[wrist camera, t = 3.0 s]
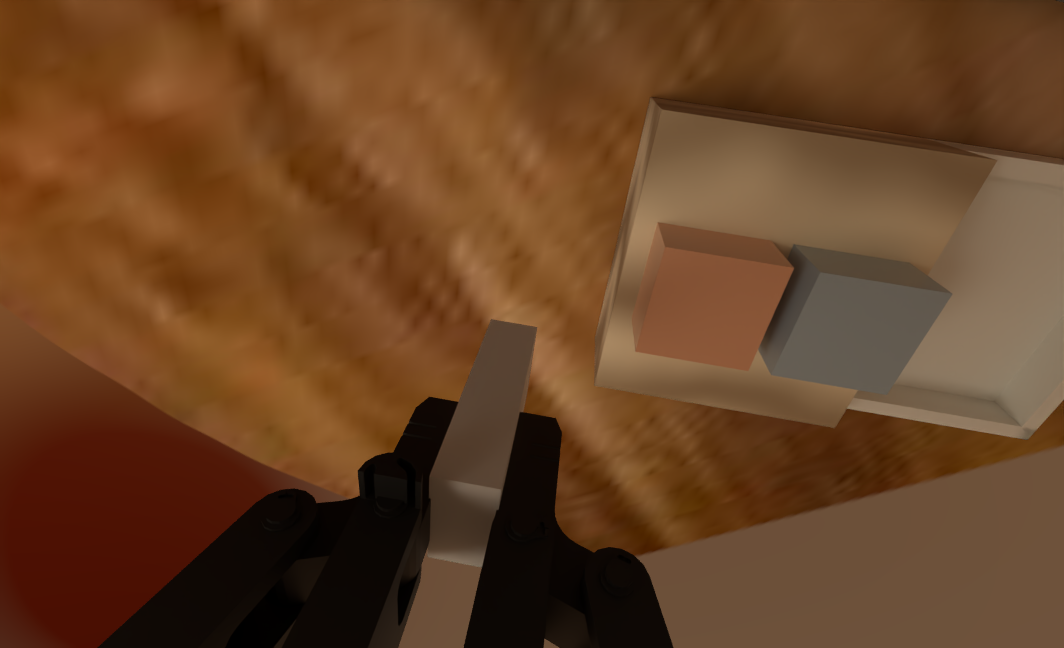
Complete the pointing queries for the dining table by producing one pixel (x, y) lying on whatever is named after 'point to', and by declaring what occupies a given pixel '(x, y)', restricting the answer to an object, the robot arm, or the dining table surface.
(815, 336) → the slate gray square block
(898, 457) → the dining table surface
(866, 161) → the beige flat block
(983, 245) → the tray
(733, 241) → the salmon orange square block
